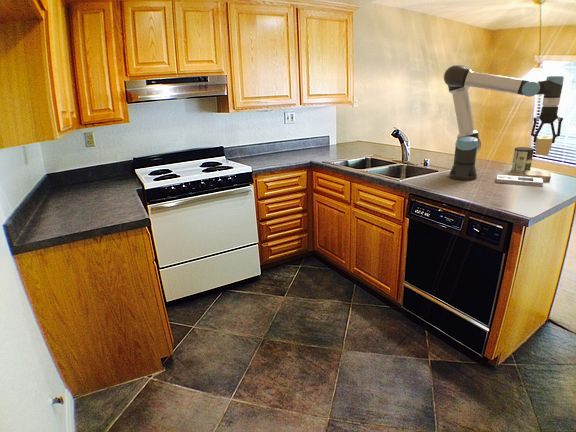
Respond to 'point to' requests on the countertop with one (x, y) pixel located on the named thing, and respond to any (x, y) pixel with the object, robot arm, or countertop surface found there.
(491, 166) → the countertop surface
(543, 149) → the cube with dome knob
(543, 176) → the pedestal
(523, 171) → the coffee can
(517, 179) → the beige panel with cutout
